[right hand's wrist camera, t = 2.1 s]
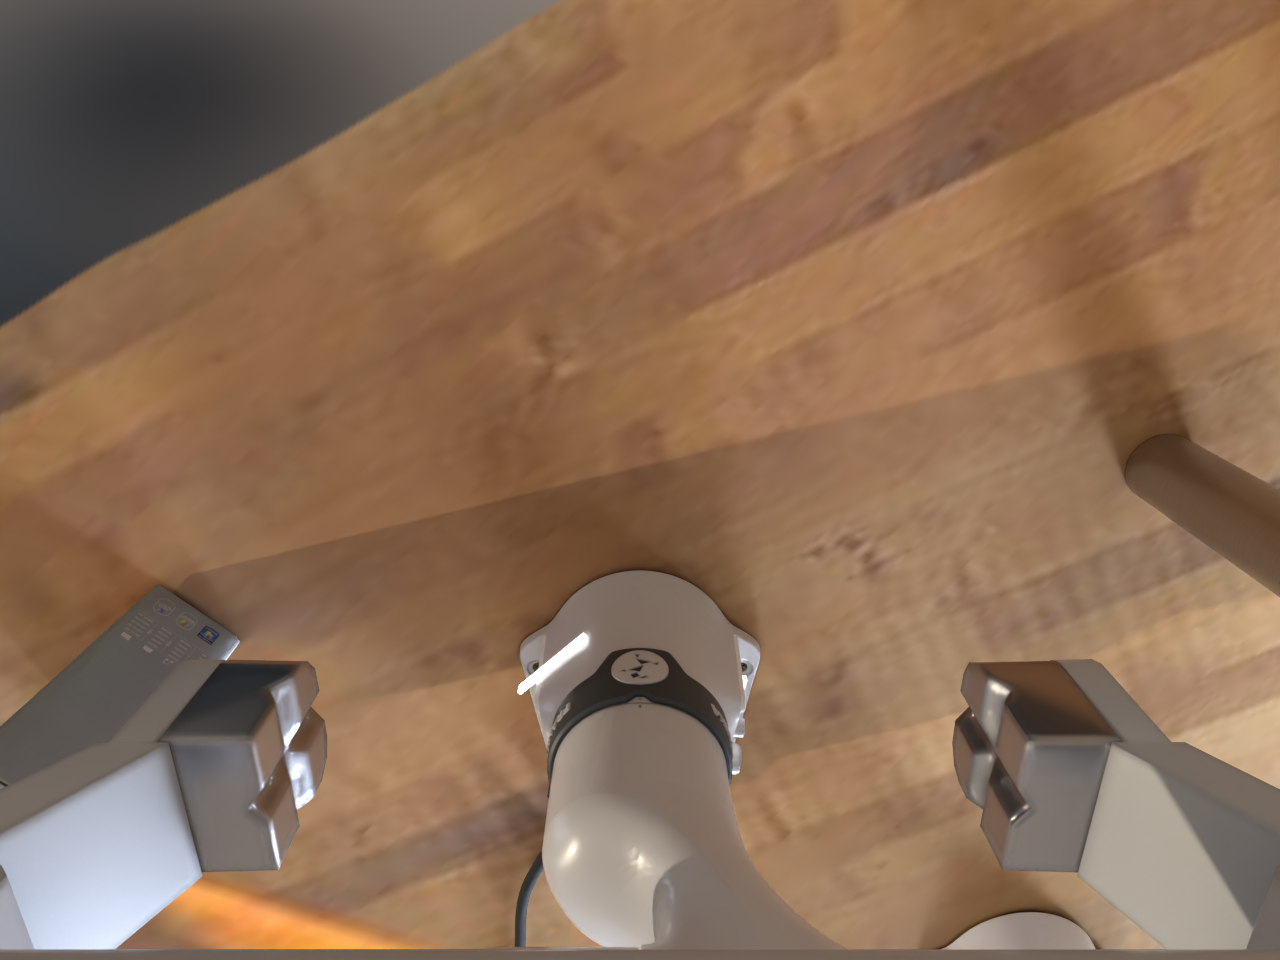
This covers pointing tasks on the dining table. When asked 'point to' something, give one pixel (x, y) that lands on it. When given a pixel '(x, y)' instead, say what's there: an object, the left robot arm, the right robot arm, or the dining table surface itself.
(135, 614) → the hard drive box
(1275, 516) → the jar
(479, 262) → the dining table surface
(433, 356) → the dining table surface
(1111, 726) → the right robot arm
